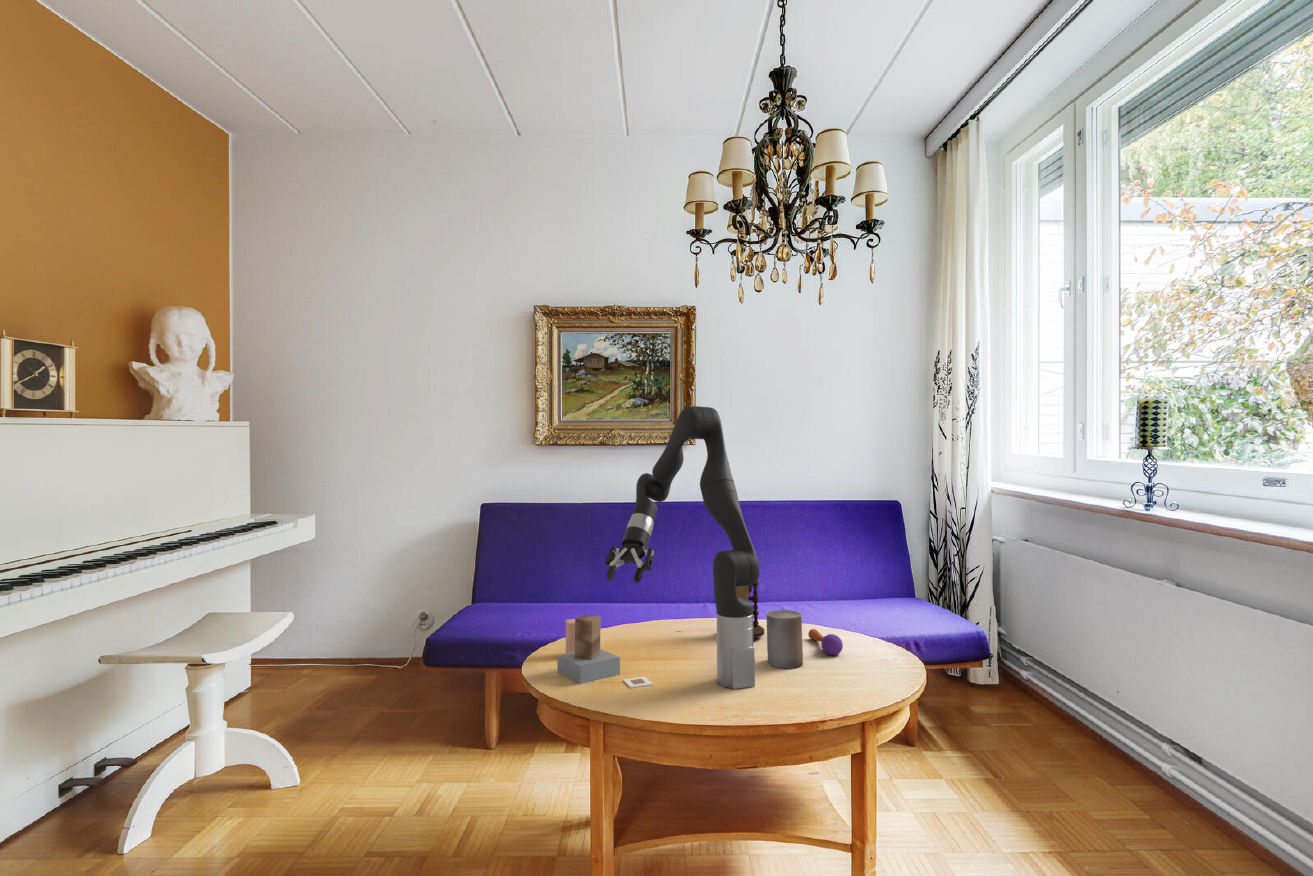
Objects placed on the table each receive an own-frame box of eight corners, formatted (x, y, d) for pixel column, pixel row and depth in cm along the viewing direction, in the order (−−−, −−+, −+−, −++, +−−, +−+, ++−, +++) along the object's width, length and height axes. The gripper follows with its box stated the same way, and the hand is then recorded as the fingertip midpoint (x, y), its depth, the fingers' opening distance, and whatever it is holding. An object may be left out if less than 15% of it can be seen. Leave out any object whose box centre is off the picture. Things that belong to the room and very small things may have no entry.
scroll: (713, 641, 202) (712, 576, 203) (723, 629, 216) (722, 569, 217) (760, 645, 197) (759, 579, 198) (767, 633, 211) (766, 571, 212)
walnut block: (600, 654, 173) (600, 616, 173) (591, 659, 168) (592, 620, 169) (583, 652, 175) (584, 615, 175) (574, 657, 170) (575, 618, 170)
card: (653, 685, 162) (653, 683, 162) (630, 688, 160) (630, 686, 160) (645, 677, 168) (645, 676, 168) (623, 680, 165) (623, 679, 165)
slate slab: (620, 676, 170) (619, 657, 170) (580, 686, 163) (580, 665, 163) (595, 665, 180) (595, 647, 180) (557, 674, 172) (557, 655, 173)
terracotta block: (586, 657, 186) (586, 622, 187) (569, 659, 184) (569, 623, 185) (582, 652, 191) (582, 618, 191) (565, 654, 189) (565, 619, 189)
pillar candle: (801, 658, 183) (799, 605, 184) (804, 669, 173) (803, 612, 174) (766, 658, 184) (765, 605, 185) (768, 668, 175) (766, 612, 175)
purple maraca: (823, 626, 205) (847, 638, 185) (821, 645, 204) (844, 659, 184) (805, 623, 204) (827, 634, 184) (802, 642, 203) (824, 655, 184)
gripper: (612, 524, 194) (595, 572, 184) (654, 525, 187) (639, 575, 178) (622, 538, 199) (606, 585, 189) (664, 539, 192) (649, 588, 183)
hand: (622, 580), depth 183 cm, fingers open, 8 cm apart
